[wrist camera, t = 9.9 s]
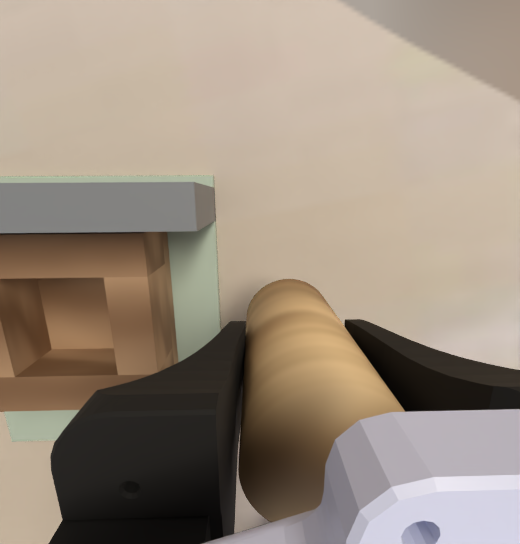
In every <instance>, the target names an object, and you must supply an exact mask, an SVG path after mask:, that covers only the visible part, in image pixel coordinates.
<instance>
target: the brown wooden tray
mask: <svg viewBox="0 0 520 544" xmlns="http://www.w3.org/2000/svg"><path fill="white" fill-rule="evenodd" d="M176 363H178V351H177V340H176V328H175V317H174V305H173V294H172V282H171V271H170V259H169V247H168V236H167V232H78V233H0V412H10V411H54V410H80V409H81V408H82V407H83V405H84V404H85V403H86V402H87V401H88V400H89V398H90V397H91V396H92V395H93V394H94V393H95V392H96V390H100V389H104V388H108V387H112V386H116V385H120V384H124V383H128V382H131V381H134V380H138V379H140V378H143V377H146V376H149V375H152V374H154V373H157V372H159V371H162V370H164V369H166V368H168V367H170V366H172V365H174V364H176Z"/></svg>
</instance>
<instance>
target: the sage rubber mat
mask: <svg viewBox="0 0 520 544" xmlns="http://www.w3.org/2000/svg"><path fill="white" fill-rule="evenodd" d="M90 182H196V183H199V184H203V185H207V186H210V187H214V176H213V175H184V176H0V183H90ZM167 236H168V247H169V259H170V271H171V282H172V294H173V305H174V317H175V328H176V340H177V351H178V362H180V361H182V360H184V359H186V358H187V357H189V356H191V355H192V354H194V353H195V352H197V351H198V350H199V349H201V348H202V347H203V346H205V345H206V344H207V343H208V342H209V341H211V340H212V339H213V338H214V337H215V336H216V335H217V334H218V333H219V332H220V331H221V327H220V304H219V281H218V259H217V236H216V220H215V221H214V222H212V223H210V224H209V225H207V226H205V227H204V228H202V229H200V230H198V231H185V232H167ZM78 412H79V410H54V411H10V412H4V414H5V417H6V421H7V425H8V428H9V432H10V436H11V440H12V442H14V441H54V440H57V438H58V437H59V436H60V434H61V433H62V431H63V430H64V429H65V428H66V426H67V425H68V424H69V423H70V421H71V420H72V419H73V418H74V417H75V415H76V414H77V413H78Z"/></svg>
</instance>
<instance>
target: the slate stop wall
mask: <svg viewBox="0 0 520 544" xmlns="http://www.w3.org/2000/svg"><path fill="white" fill-rule="evenodd" d="M215 220H216V214H215V191H214V187H210V186H207V185H203V184H199V183H196V182H90V183H0V233H78V232H185V231H198V230H200V229H202V228H204V227H205V226H207V225H209V224H210V223H212V222H214V221H215Z"/></svg>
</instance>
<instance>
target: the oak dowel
mask: <svg viewBox="0 0 520 544" xmlns="http://www.w3.org/2000/svg"><path fill="white" fill-rule="evenodd" d="M389 412H405V410H404V409H403V408H402V406H401V405H400V403H399V402H398V401H397V399H396V398H395V396H394V395H393V394H392V392H391V391H390V389H389V388H388V387H387V385H386V384H385V382H384V381H383V380H382V378H381V377H380V376H379V374H378V373H377V371H376V370H375V369H374V367H373V366H372V364H371V363H370V362H369V360H368V359H367V357H366V356H365V355H364V353H363V352H362V350H361V349H360V348H359V346H358V345H357V343H356V342H355V341H354V339H353V338H352V336H351V335H350V334H349V332H348V331H347V329H346V328H345V327H344V325H343V324H342V323H341V321H340V320H339V318H338V317H337V316H336V314H335V313H334V311H333V310H332V309H331V307H330V306H329V304H328V303H327V302H326V300H325V299H324V297H323V296H322V295H321V293H320V292H319V291H318V290H317V289H316V288H314V287H313V286H311V285H310V284H308V283H306V282H303V281H300V280H295V279H283V280H278V281H275V282H272V283H270V284H268V285H266V286H265V287H263V288H262V289H261V290H259V291H258V292H257V294H256V295H255V296H254V297H253V299H252V300H251V302H250V304H249V307H248V311H247V322H246V344H245V358H244V377H243V395H242V413H241V432H240V450H239V469H238V470H239V479H240V483H241V486H242V489H243V492H244V494H245V496H246V498H247V499H248V501H249V502H250V504H251V505H252V506H253V507H254V509H255V510H256V511H257V512H258V513H259V514H261V515H262V516H263V517H264V518H265V519H267V520H268V521H270V522H274V521H277V520H281V519H284V518H287V517H291V516H294V515H297V514H300V513H304V512H307V511H310V510H313V509H316V508H317V507H318V506H319V505H320V504H321V501H322V497H323V492H324V478H325V464H326V462H327V459H328V456H329V454H330V451H331V449H332V446H333V443H334V441H335V439H336V438H337V437H339V436H340V435H341V434H342V433H344V432H345V431H346V430H347V429H349V428H350V427H351V426H352V425H354V424H355V423H356V422H357V421H358V420H361V419H365V418H369V417H373V416H377V415H381V414H385V413H389Z"/></svg>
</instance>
